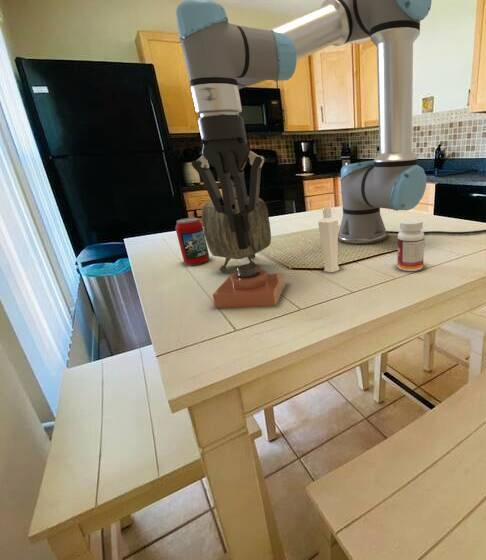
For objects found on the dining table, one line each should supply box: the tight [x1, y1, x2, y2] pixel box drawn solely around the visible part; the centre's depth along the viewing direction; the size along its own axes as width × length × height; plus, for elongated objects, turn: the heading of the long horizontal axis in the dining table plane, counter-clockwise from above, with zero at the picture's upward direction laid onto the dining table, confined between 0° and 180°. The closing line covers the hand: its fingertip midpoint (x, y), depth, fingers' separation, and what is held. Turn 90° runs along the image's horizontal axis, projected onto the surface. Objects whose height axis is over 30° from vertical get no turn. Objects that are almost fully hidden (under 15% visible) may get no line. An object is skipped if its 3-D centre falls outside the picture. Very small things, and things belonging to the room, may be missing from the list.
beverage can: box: [175, 217, 210, 266], centre depth 93 cm, size 7×7×12 cm
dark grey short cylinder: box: [236, 263, 259, 278], centre depth 69 cm, size 4×4×2 cm
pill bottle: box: [397, 218, 425, 272], centre depth 79 cm, size 6×6×11 cm
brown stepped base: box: [212, 267, 286, 309], centre depth 70 cm, size 12×10×5 cm
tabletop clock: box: [201, 177, 272, 273], centre depth 84 cm, size 14×9×25 cm, turn 151°
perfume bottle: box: [317, 207, 340, 273], centre depth 80 cm, size 5×4×15 cm
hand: (244, 247), depth 67 cm, fingers closed
